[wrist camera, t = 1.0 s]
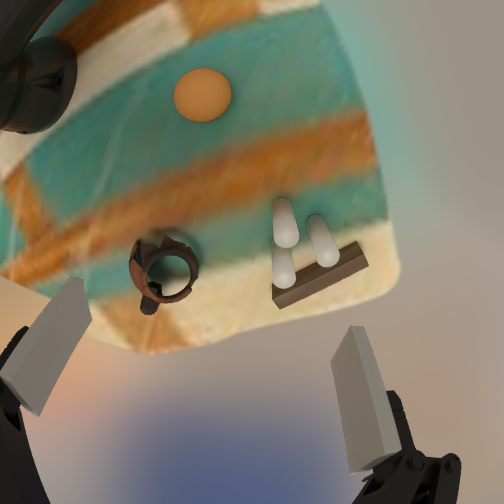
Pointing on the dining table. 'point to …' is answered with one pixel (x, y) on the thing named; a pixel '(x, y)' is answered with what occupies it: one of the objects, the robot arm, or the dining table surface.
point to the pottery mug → (153, 289)
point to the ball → (202, 95)
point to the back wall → (320, 276)
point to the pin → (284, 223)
